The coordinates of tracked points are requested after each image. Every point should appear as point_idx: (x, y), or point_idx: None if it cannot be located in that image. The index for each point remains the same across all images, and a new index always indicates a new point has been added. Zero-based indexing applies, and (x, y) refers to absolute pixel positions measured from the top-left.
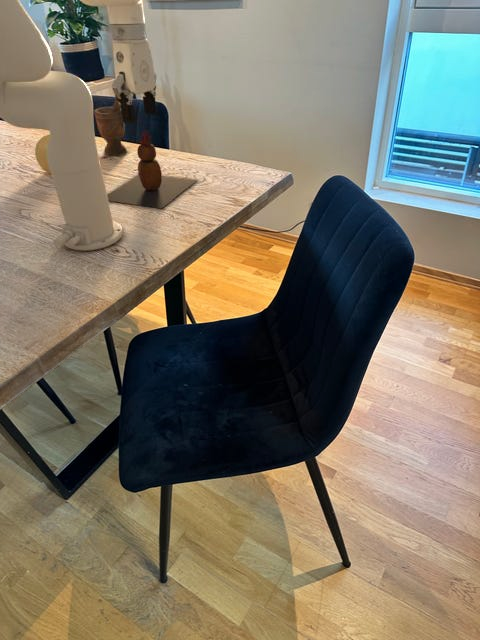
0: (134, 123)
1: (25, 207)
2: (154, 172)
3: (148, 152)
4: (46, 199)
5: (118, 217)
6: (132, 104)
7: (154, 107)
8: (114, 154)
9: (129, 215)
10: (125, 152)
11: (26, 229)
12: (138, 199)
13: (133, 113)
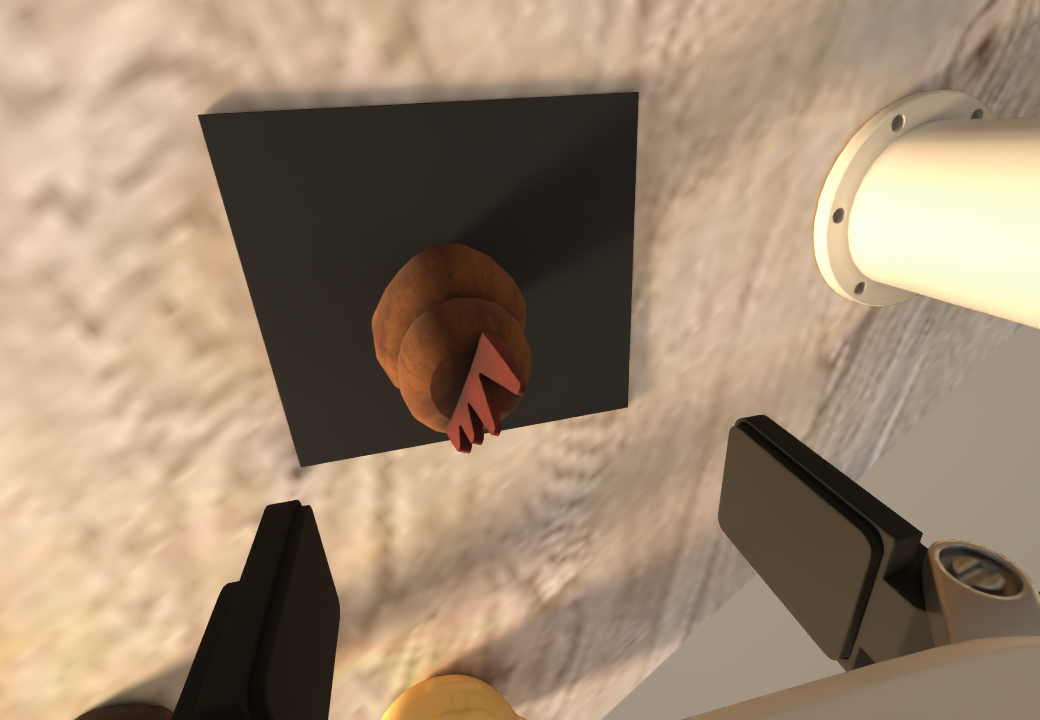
0: (757, 416)
1: (731, 549)
2: (492, 259)
3: (512, 322)
4: (667, 551)
5: (746, 231)
6: (894, 552)
7: (287, 564)
8: (169, 717)
9: (723, 201)
10: (100, 710)
11: (857, 431)
12: (582, 266)
13: (830, 468)
